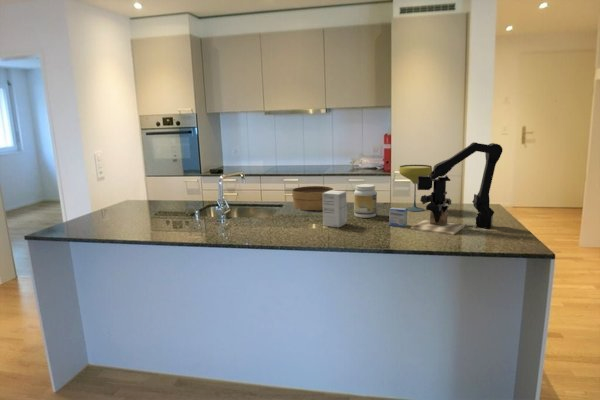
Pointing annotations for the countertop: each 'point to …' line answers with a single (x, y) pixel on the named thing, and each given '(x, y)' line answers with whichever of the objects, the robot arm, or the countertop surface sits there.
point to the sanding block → (441, 221)
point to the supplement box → (334, 208)
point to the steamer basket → (309, 197)
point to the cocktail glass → (415, 178)
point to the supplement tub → (365, 201)
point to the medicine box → (398, 217)
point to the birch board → (438, 227)
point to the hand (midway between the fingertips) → (438, 221)
